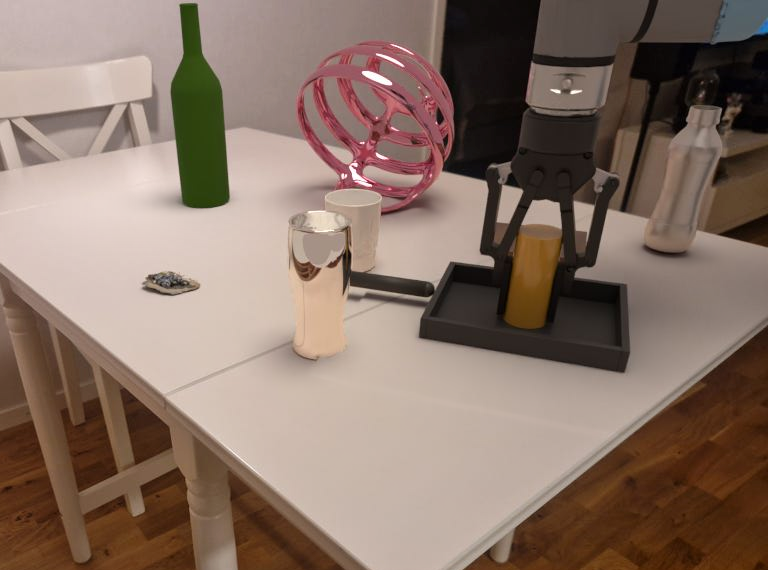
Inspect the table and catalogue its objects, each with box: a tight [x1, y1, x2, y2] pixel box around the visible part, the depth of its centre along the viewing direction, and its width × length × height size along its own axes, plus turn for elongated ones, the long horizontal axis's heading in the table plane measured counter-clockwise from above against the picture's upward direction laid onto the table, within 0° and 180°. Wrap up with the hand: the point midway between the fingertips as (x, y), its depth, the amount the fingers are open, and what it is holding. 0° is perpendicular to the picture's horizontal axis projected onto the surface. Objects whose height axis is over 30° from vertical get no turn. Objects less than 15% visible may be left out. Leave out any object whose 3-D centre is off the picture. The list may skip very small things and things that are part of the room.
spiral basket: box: [295, 39, 456, 214], centre depth 113 cm, size 28×28×27 cm
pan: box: [418, 261, 631, 374], centre depth 78 cm, size 22×18×3 cm
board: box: [480, 221, 588, 262], centre depth 99 cm, size 14×12×2 cm
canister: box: [503, 223, 563, 329], centre depth 76 cm, size 5×5×11 cm
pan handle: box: [349, 271, 436, 299], centre depth 83 cm, size 12×2×2 cm, turn 67°
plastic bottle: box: [643, 104, 723, 254], centre depth 92 cm, size 6×7×20 cm
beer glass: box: [286, 209, 353, 361], centre depth 71 cm, size 7×7×15 cm
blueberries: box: [141, 270, 201, 295], centre depth 90 cm, size 7×8×2 cm
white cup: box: [324, 188, 383, 273], centre depth 93 cm, size 8×8×10 cm
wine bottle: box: [169, 2, 231, 209], centre depth 115 cm, size 9×9×32 cm
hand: (525, 313), depth 78 cm, fingers closed on canister, 5 cm apart
